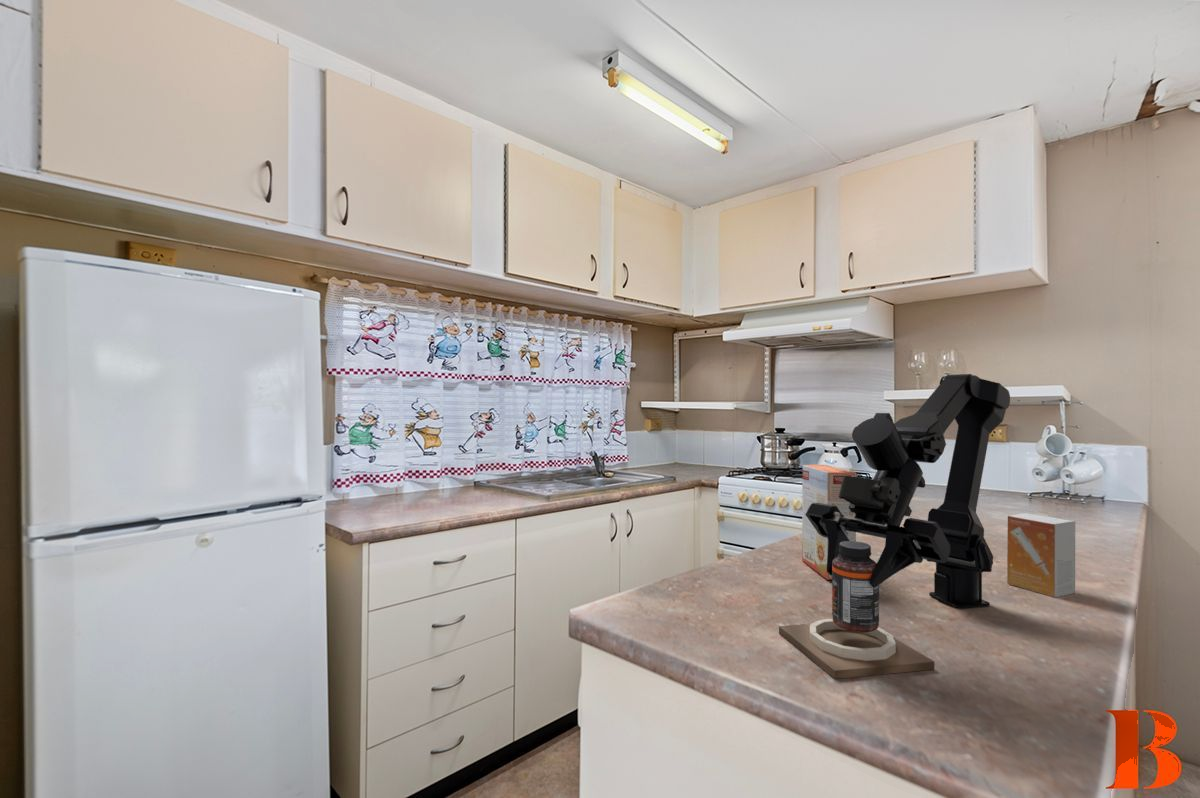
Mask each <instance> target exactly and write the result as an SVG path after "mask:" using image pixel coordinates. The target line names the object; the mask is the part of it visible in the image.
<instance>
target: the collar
mask: <svg viewBox="0 0 1200 798" xmlns="http://www.w3.org/2000/svg"><path fill="white" fill-rule="evenodd" d="M809 624H810V641H811V642H812V643H813V644H814V645H816V646H817V647H818V648H820V649H821V650H823V651H826V652H829V653H831V654H834V655H837V656H840V657H843V658H850V659H857V660H864V661H870V660H881V659H887V658H889V657H890V656H892V655H893V654H895V653H896V643H895V641H894V638H895V637H894V636H893V634H891V633H889V632H887V631H886V630H885V629H883V628H881V627H879V626H878V628H877V629H876V630H874V631H871V632H868V633H865V634H868V635H871V636H874V637H876V638H878V639H879V640H881V641H882V642H884V643H886V644H885V645H883V646H882V647H877V648H865V649H863V648H856V647H849V646H843V645H840V644H837V643H834V642H831V641H828V640H826V639H824V638H823V637H822V636H820V635H819V634H818V633H820V632H822V631H824V630H833V629H843V628H841V627H839V626H837V625H836V624H835V623H834V621H833V618H828V619H826V618H825V619H819V620H817V621H815V622H812V623H809ZM843 630H846V629H843ZM861 633H862V632H861ZM893 637H894V638H893Z"/></svg>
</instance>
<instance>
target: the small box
mask: <svg viewBox="0 0 1200 798" xmlns="http://www.w3.org/2000/svg"><path fill="white" fill-rule="evenodd" d="M1006 544H1007V548H1006V549H1007V550H1006V551H1007V553H1006V555H1007V556H1006V557H1007V558H1006V563H1007V565H1006V566H1007V567H1006V573H1007V575H1006V580H1007V581H1006V584H1007V585H1009V586H1015V587H1018V588H1022V589H1025V590H1027V591H1028V590H1029V591H1032V592H1035V593H1039V594H1042V595H1045V596H1049V597H1051V598H1060V597H1063V596H1067V595H1068V596H1069V595H1072V594H1073V595H1074V594H1075V593H1076V521H1075V520H1070V519H1063V518H1058V517H1053V516H1047V515H1039V514H1034V513H1027V512H1025V513H1017V514H1016V513H1015V514H1011V515H1010V514H1009V515H1007V543H1006Z"/></svg>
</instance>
